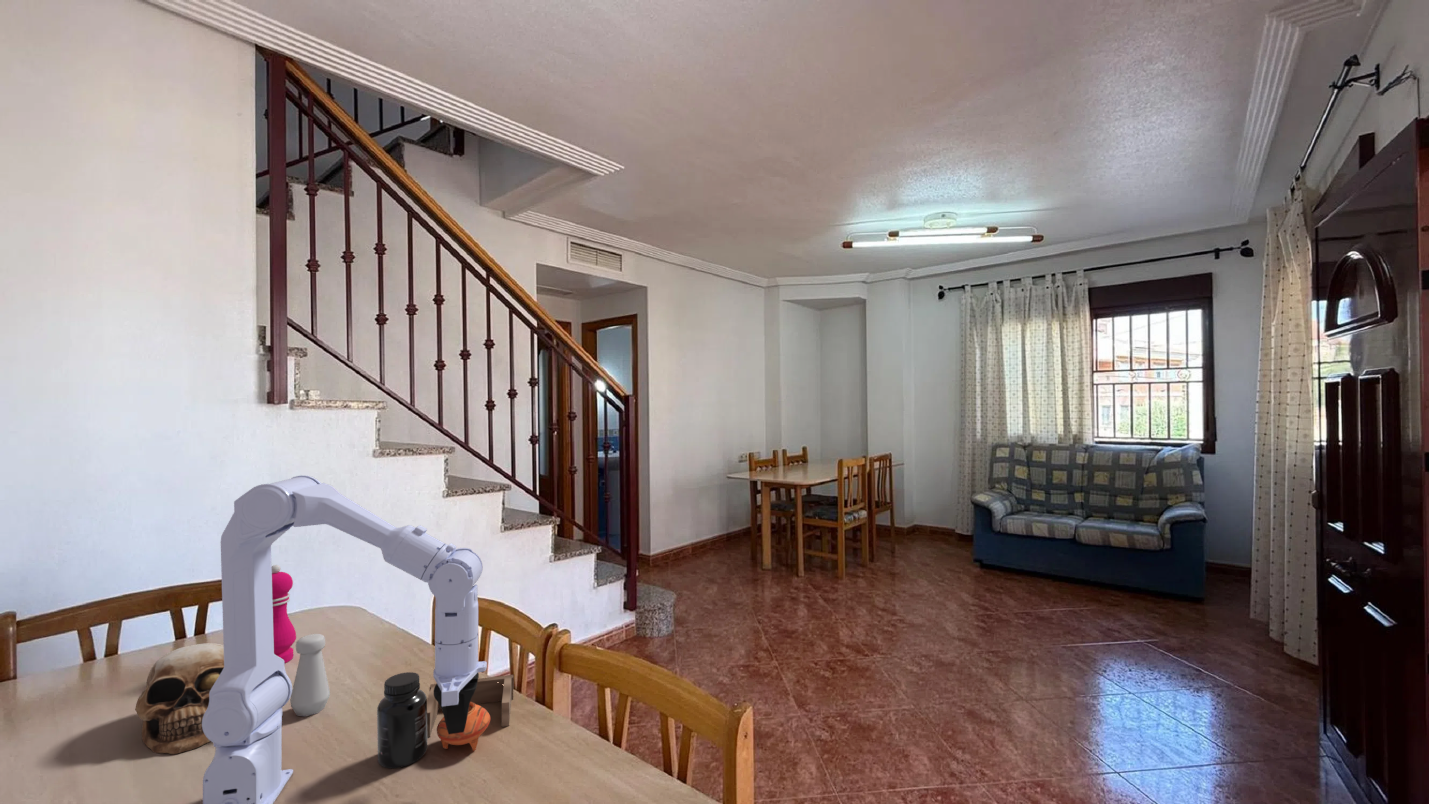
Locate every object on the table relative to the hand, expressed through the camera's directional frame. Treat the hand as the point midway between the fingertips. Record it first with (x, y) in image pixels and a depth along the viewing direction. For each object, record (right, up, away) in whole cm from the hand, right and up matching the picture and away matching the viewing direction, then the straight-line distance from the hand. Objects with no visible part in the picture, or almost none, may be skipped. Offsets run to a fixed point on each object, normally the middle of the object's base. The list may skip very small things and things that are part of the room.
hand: (456, 730), depth 86 cm
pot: (-3, -7, +9) cm, 12 cm away
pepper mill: (-54, -7, +38) cm, 66 cm away
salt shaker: (-34, -7, +19) cm, 39 cm away
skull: (-51, -7, +14) cm, 53 cm away
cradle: (-5, -7, +17) cm, 20 cm away
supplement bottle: (-11, -7, +6) cm, 14 cm away
